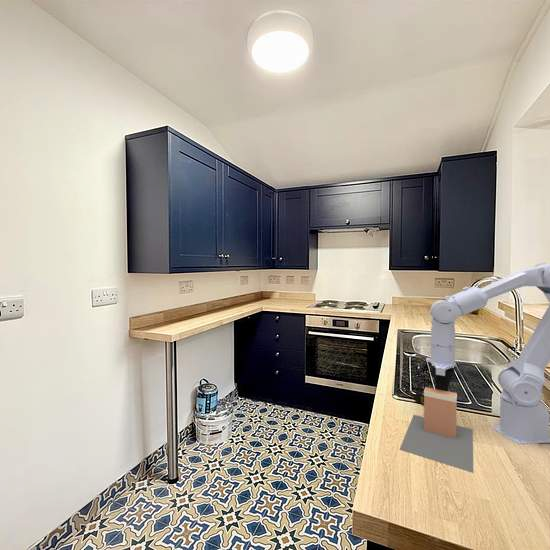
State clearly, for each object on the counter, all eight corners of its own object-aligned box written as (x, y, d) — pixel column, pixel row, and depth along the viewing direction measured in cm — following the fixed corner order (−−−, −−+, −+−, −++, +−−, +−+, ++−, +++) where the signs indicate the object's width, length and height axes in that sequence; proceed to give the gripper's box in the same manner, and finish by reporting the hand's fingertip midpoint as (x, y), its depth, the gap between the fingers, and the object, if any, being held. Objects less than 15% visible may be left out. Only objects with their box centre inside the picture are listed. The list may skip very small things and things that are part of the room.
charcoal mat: (413, 416, 84) (413, 414, 84) (472, 430, 76) (472, 429, 76) (399, 451, 68) (399, 449, 67) (473, 474, 60) (473, 472, 60)
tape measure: (426, 399, 96) (426, 387, 96) (447, 407, 90) (447, 395, 90) (413, 403, 93) (413, 391, 93) (434, 412, 87) (434, 399, 87)
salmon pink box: (425, 424, 79) (425, 387, 79) (456, 432, 75) (456, 393, 75) (423, 429, 76) (423, 391, 76) (455, 438, 72) (456, 397, 72)
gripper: (429, 338, 89) (428, 383, 89) (422, 348, 77) (422, 400, 77) (456, 341, 85) (456, 388, 85) (454, 352, 73) (454, 407, 73)
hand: (442, 394), depth 81 cm, fingers closed
